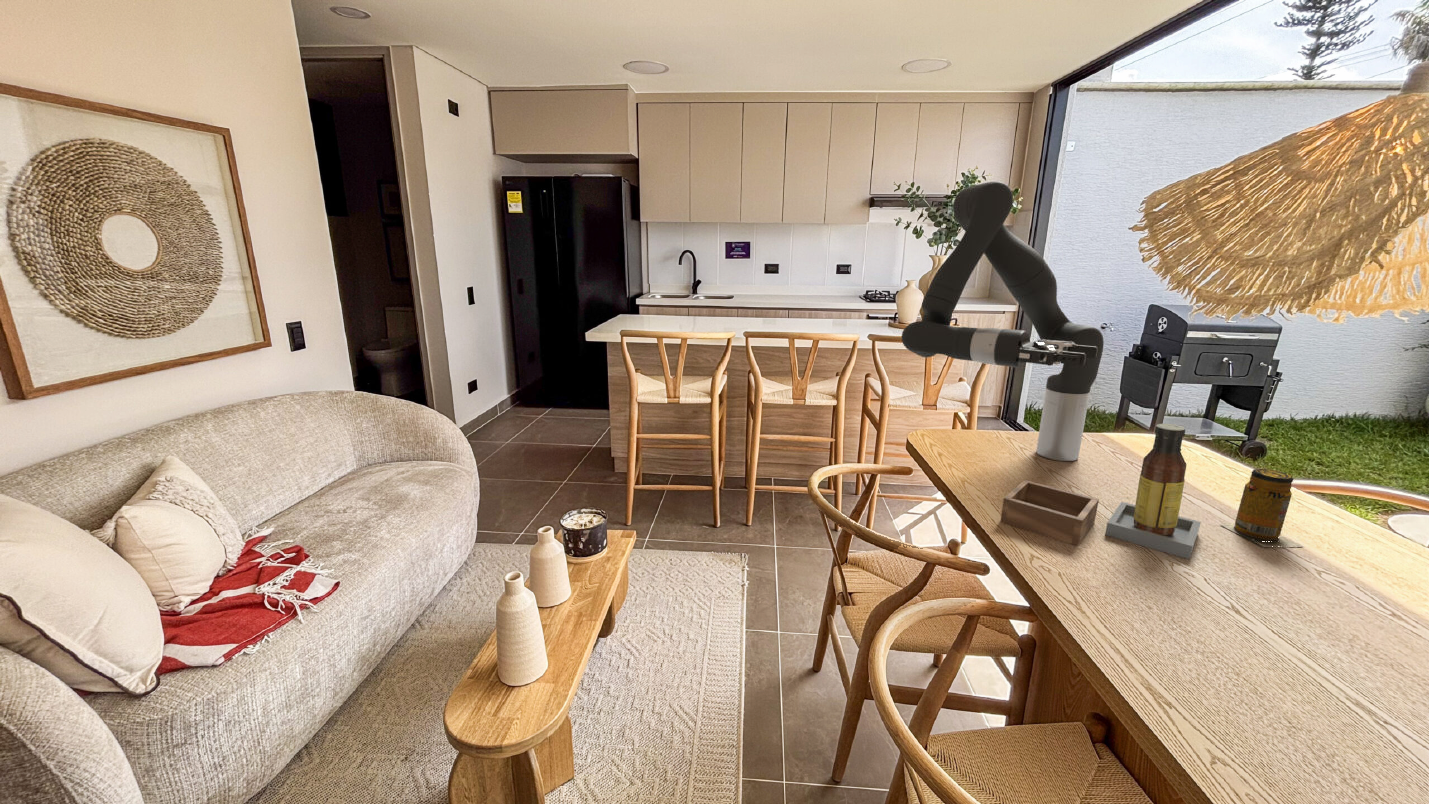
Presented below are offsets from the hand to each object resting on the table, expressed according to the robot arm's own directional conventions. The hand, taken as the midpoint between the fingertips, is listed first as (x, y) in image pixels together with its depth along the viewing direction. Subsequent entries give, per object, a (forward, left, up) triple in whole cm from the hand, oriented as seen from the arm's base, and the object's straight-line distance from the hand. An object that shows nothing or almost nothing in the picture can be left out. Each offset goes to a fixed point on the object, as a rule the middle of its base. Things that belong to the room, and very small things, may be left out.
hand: (1091, 356), depth 102 cm
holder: (+8, -1, -32) cm, 33 cm away
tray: (0, +14, -32) cm, 35 cm away
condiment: (-13, +28, -32) cm, 44 cm away
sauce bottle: (0, +14, -31) cm, 34 cm away
